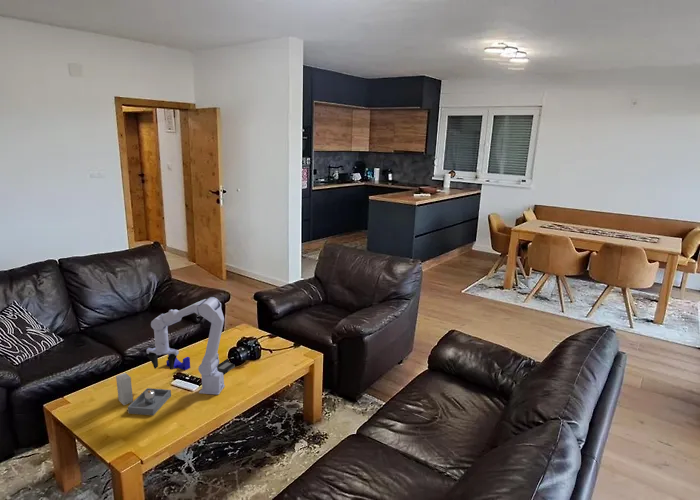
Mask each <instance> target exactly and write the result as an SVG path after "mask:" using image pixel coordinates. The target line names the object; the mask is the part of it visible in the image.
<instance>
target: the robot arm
mask: <svg viewBox="0 0 700 500" xmlns="http://www.w3.org/2000/svg"><path fill="white" fill-rule="evenodd" d="M192 314H196V315H197V316H199V315H200V316H201V317H202V318H204V319H205V320H206V321H208V322H209V323H210V329H209V334H208V338H207V343H206V348H205V349H206V350H205V352H204V355H203V358H202V360H201V364H199V366H198V373H199V374H200V375H201V376H200V377H201V389H200V390H199V392H198V394H202V395H203V394H204V395H205V394H206V395H220V393H221V392H222V390H223V389H224V388H225V386H226V385H225V378H224V376H225V374H224V375H223V373H222V372H219V371H218V370H217V366H218V364H220V358H219V353H218V351H219V347H220V342H221V337H222V333H223V327H224V324H225V323H224V322H225V316H224V313H223V310H222V303H221V302H220V300H219V299H218V298H217V297H214V296H210V297H208V298H207V299H206V298H205V299H201V300H200V301H197V302H195V303H192V304H191V305H188V306H186V307H183V308H182V309H179V310H178V309H169V310H168V312H166V313H160V314H159V315H158V316H157V317H155V318H154V319H153V320H151V322H150V327H151V329H153V333H154V345H155V347H148V348H147V349H146V354H148V355H147V358H148V359H149V360H150V361H151V364H152V366H153V368H154V369H155V370H156V369H157V368H159V360H158V359H159V356H161V355H168V354H170V356H167V360H168V361H169V366H170V367H169V366H168V367H169V370H171V371H172V370H173V369H175V368H174V362H175V359H176V358H178V355H179V350H178V349H175V348H171V347H170V344H169V343H170V342H169V331H168V328H169V326H172V325H174V324H176V323H178V322H181V321H182V318H183V317H187V316H189V315H192Z"/></svg>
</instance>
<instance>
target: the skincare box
mask: <svg viewBox="0 0 700 500" xmlns="http://www.w3.org/2000/svg"><path fill="white" fill-rule="evenodd" d="M115 378H116V387H117V389H116V390H117V399H118V401H119V402H120V403H121V404H122V405H123V406H126V405H128V404H129V405H130V404H131V403H132V402H133V401H134V397H133V388H132V387H133V385H132V377H131V376H130V375H129V374H128V373H126V372H124V373H120V374H117V375H115Z"/></svg>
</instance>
